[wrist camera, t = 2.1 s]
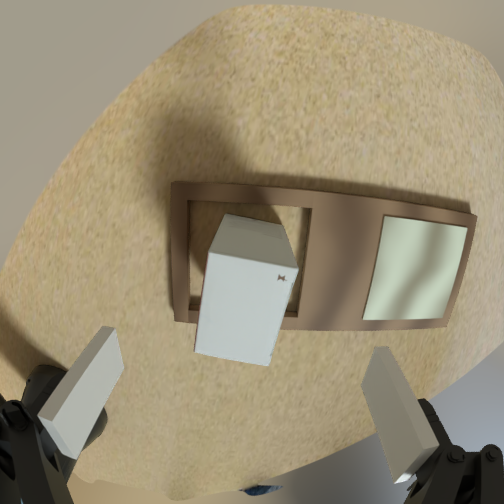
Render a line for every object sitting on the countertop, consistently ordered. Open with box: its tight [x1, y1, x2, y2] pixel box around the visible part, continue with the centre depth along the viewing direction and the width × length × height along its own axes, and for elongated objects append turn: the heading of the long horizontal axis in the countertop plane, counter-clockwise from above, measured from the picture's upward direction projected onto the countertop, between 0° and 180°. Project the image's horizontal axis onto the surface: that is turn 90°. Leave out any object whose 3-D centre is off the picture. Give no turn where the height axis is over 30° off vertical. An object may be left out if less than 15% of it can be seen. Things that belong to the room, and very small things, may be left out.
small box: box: [194, 214, 299, 366], centre depth 23 cm, size 8×6×10 cm
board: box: [171, 181, 477, 331], centre depth 28 cm, size 32×14×1 cm, turn 86°
